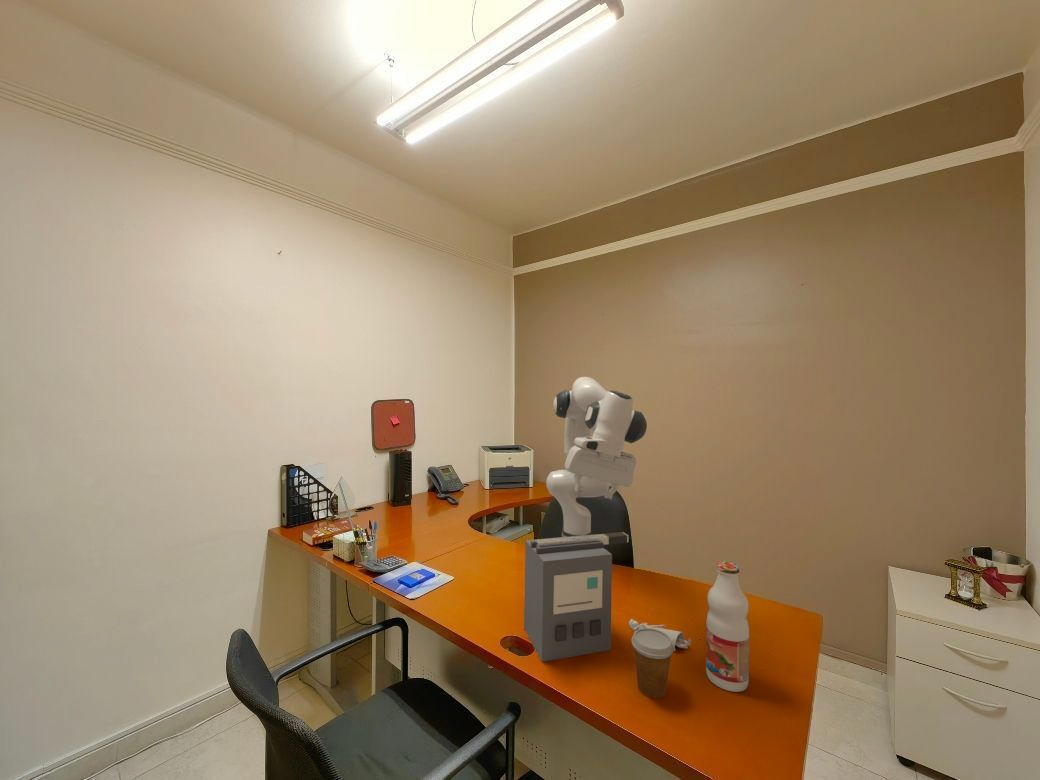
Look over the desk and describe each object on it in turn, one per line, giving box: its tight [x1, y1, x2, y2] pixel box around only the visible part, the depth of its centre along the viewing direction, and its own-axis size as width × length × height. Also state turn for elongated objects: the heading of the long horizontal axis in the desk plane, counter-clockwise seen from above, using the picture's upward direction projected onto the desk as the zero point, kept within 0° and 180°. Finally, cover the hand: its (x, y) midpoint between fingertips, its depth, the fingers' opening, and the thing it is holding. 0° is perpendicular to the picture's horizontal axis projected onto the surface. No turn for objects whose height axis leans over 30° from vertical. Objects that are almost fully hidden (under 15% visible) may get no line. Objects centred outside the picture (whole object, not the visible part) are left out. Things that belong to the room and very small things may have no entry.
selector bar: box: [535, 531, 630, 548], centre depth 119 cm, size 3×28×2 cm, turn 106°
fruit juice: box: [705, 561, 750, 693], centre depth 101 cm, size 9×9×28 cm
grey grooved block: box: [523, 535, 613, 663], centre depth 117 cm, size 17×20×27 cm
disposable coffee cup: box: [630, 628, 674, 699], centre depth 97 cm, size 10×10×12 cm
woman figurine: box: [628, 618, 692, 652], centre depth 118 cm, size 12×4×18 cm
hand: (592, 494), depth 115 cm, fingers open, 8 cm apart
